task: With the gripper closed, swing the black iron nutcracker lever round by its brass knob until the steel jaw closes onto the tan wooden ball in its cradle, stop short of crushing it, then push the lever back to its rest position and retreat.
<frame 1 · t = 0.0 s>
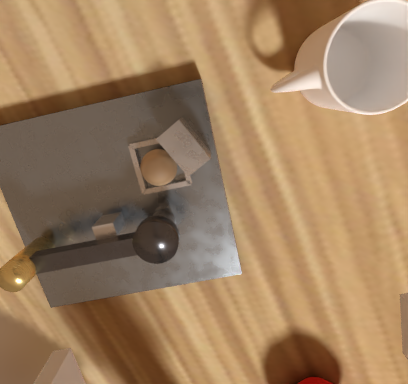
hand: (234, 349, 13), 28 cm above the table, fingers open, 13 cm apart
bench plate: (121, 201, 41), on the table
mug: (315, 72, 36), on the table
tan wooden ball: (161, 163, 37), point 2 cm above the table, touching bench plate
lever: (95, 248, 36), point 7 cm above the table, hinge at 0.0°
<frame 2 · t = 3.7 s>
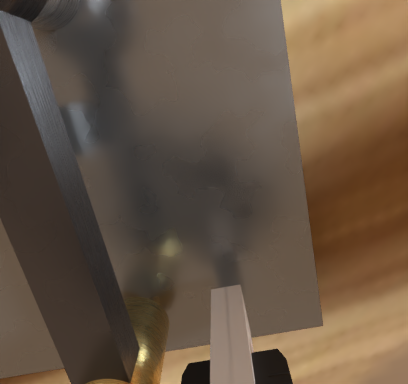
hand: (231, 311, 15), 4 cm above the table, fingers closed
bench plate: (41, 126, 16), on the table
lever: (47, 192, 10), point 7 cm above the table, hinge at 0.1°, touching gripper
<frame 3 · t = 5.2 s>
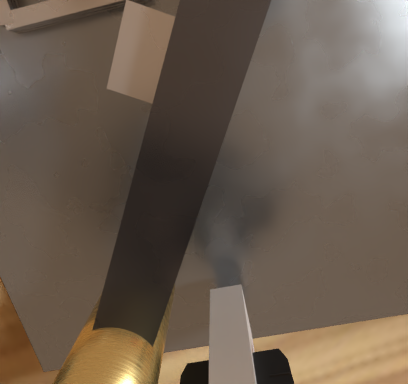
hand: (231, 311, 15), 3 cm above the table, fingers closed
bench plate: (203, 87, 15), on the table
lever: (184, 127, 10), point 7 cm above the table, hinge at 30.2°, touching gripper
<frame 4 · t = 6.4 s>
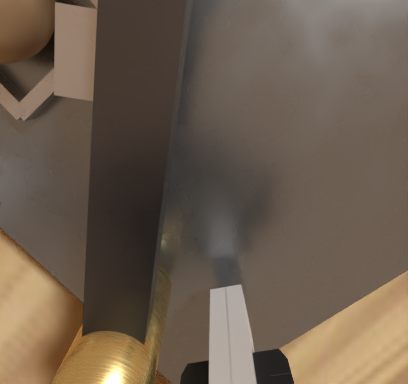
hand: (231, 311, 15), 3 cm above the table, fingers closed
bench plate: (209, 80, 15), on the table
tan wooden ball: (23, 12, 13), point 2 cm above the table, touching bench plate
lever: (137, 121, 9), point 7 cm above the table, hinge at 48.6°, touching gripper
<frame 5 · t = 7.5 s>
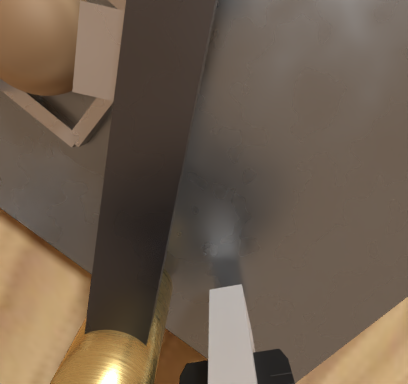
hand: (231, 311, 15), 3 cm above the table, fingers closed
bench plate: (247, 80, 15), on the table
tan wooden ball: (64, 42, 13), point 2 cm above the table, touching bench plate
lever: (154, 123, 10), point 7 cm above the table, hinge at 60.6°, touching gripper
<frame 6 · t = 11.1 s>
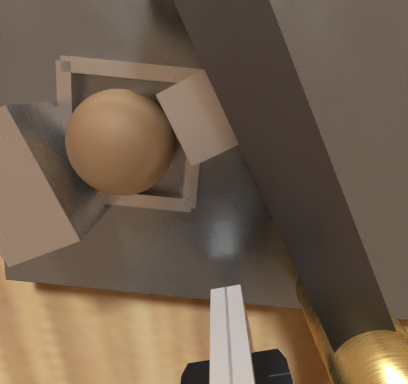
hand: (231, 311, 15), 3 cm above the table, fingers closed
bench plate: (288, 58, 15), on the table
tan wooden ball: (134, 136, 14), point 2 cm above the table, touching bench plate
lever: (271, 142, 10), point 7 cm above the table, hinge at 58.5°, touching gripper
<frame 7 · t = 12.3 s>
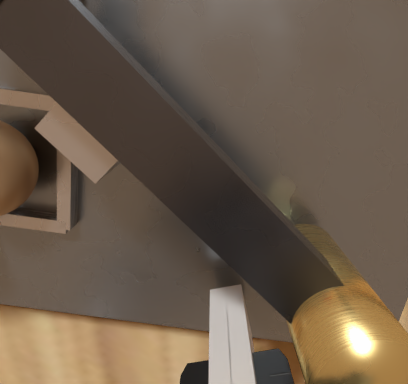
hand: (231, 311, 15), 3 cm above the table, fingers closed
bench plate: (172, 85, 15), on the table
tan wooden ball: (11, 157, 15), point 2 cm above the table, touching bench plate
lever: (156, 137, 10), point 7 cm above the table, hinge at 38.1°, touching gripper
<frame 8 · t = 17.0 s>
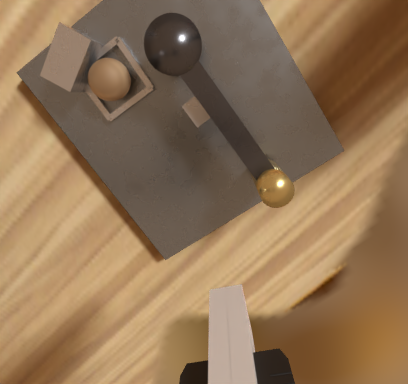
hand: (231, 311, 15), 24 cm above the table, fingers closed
bench plate: (185, 111, 36), on the table
tan wooden ball: (115, 80, 34), point 2 cm above the table, touching bench plate
lever: (221, 114, 30), point 7 cm above the table, hinge at -2.6°
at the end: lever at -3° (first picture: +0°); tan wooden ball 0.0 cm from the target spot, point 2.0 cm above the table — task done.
